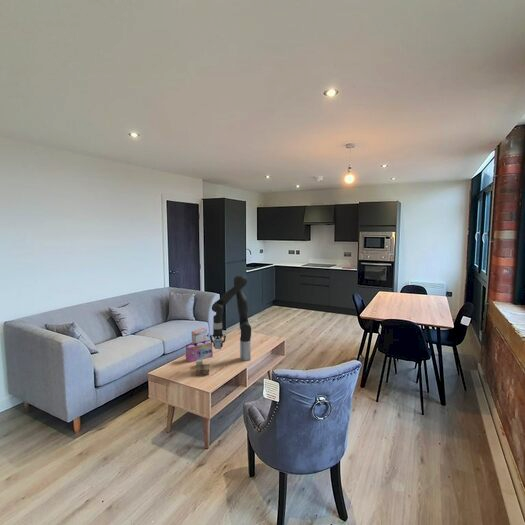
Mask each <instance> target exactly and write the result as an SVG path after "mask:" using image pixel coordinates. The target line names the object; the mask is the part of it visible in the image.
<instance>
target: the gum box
mask: <svg viewBox="0 0 525 525" xmlns="http://www.w3.org/2000/svg"><path fill="white" fill-rule="evenodd" d="M213 352H214V351H213V343H211V340H210V339H207V341H202V342H198V343H193V344H192V343H188V344H186V345H185V359H186V361H187V362H188V363H193V362H196V360H199V359H202V360H205V359H209V358H213Z"/></svg>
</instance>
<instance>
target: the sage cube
mask: <svg viewBox="0 0 525 525" xmlns="http://www.w3.org/2000/svg"><path fill="white" fill-rule="evenodd" d="M195 362H196V364H195V365H196V367H197V365H203V364H204V362H203V359H199V360H196V361H195Z"/></svg>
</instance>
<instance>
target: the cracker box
mask: <svg viewBox="0 0 525 525" xmlns="http://www.w3.org/2000/svg"><path fill="white" fill-rule="evenodd" d="M207 330H208V329H207V328H204V327H201V328H198V329H196V330H193V331H191V344H193V343H198V342H202V341H207V340H208V331H207Z"/></svg>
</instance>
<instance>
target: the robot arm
mask: <svg viewBox="0 0 525 525" xmlns="http://www.w3.org/2000/svg"><path fill="white" fill-rule="evenodd" d="M247 283H248V279H247V277H246V276H243V275H235V276H234V278H233V284H234V286H233V287H231V288H230V289H228V290H227V291H225V293H224V294H223V295H222V296H221V297H220V298H219V299H218V300H216V301H215V302H214V303H213V304H212V305H211V310H212V311H213V313H214V312H215V314H214V315H213V318H212V320H213V323H212V329H213V330H212V333H213V334H210V335H209V340H210V341H211V343H212V348H214V349H215V341H216V340H220V342H221V349H222V348H223V345H224V343H225V342H226V337H227V335H226V334H223V314H224V306H225V305H227V304H228V303H229V302H230V301H231V300H232V298H233V297H234V296H236V305H237V312H238V316H239V329H240V338H239V357H240V358H239V359H240V360H241V361H250V360H251V357H252V356H251V354H252V353H251V352H252V351H251V349H252V348H251V338H252V326H251V325H250V323H249V318H248V314H249V313H248V311H249V304H248V299H247V296H246V295H245V292H244V287H245V286H246V285H248V284H247ZM213 338H214V339H213Z"/></svg>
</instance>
